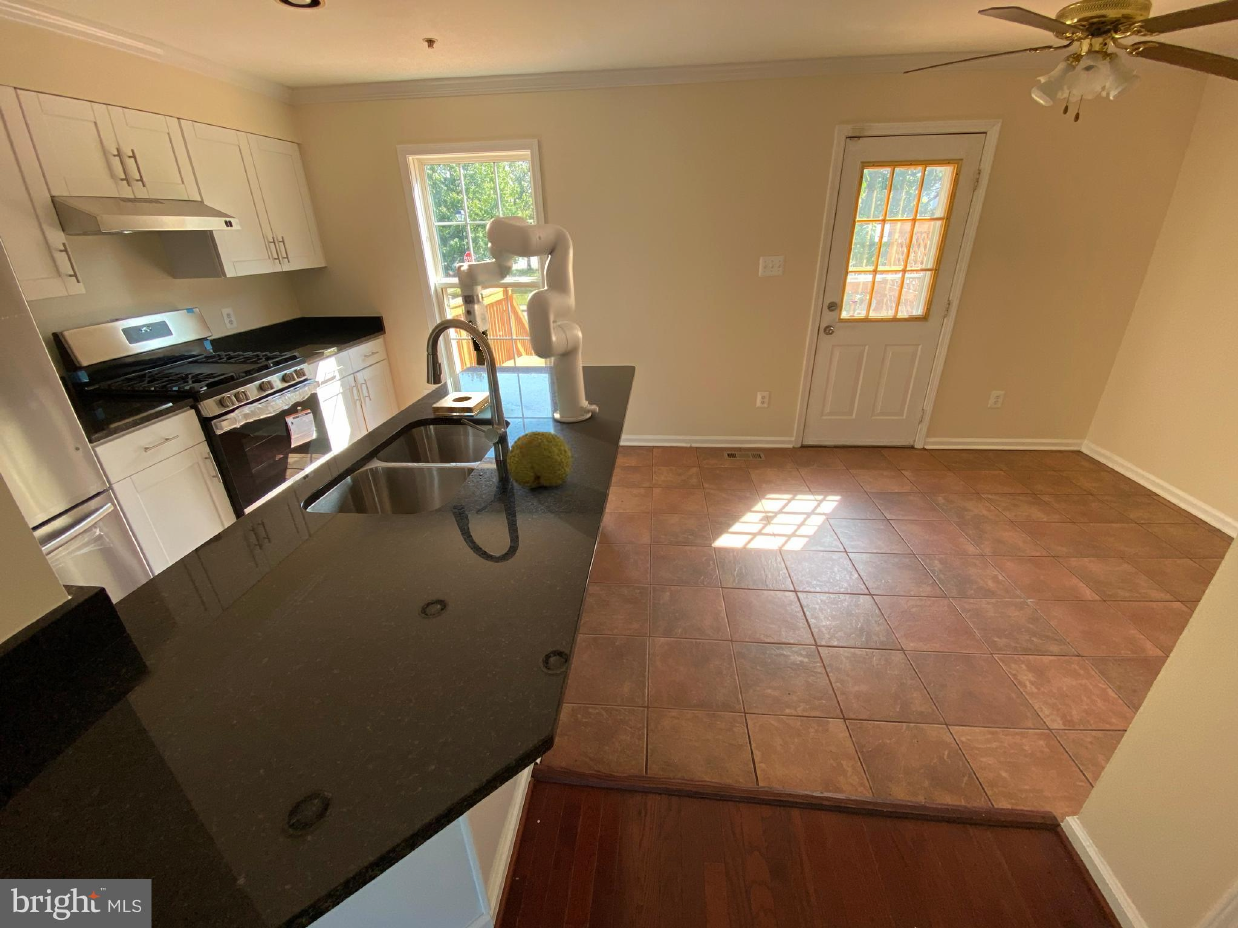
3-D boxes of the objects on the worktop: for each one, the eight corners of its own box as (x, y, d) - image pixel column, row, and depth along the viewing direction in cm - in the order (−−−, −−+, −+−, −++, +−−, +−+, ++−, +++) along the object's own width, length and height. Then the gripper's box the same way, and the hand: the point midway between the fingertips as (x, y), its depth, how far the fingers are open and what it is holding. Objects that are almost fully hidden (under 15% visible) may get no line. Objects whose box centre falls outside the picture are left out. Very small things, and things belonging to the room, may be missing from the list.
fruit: (520, 506, 118) (490, 449, 116) (526, 497, 132) (500, 446, 131) (581, 475, 119) (553, 418, 117) (581, 470, 133) (555, 419, 131)
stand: (493, 402, 191) (491, 392, 189) (474, 417, 177) (472, 406, 175) (455, 402, 194) (453, 392, 192) (433, 416, 180) (431, 406, 178)
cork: (483, 366, 188) (478, 337, 183) (473, 364, 192) (467, 336, 187) (495, 362, 192) (490, 333, 188) (485, 361, 196) (480, 332, 191)
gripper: (471, 302, 173) (481, 354, 181) (492, 295, 188) (500, 343, 196) (451, 303, 175) (462, 354, 183) (473, 296, 190) (482, 344, 198)
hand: (481, 348), depth 189 cm, fingers closed on cork, 5 cm apart
